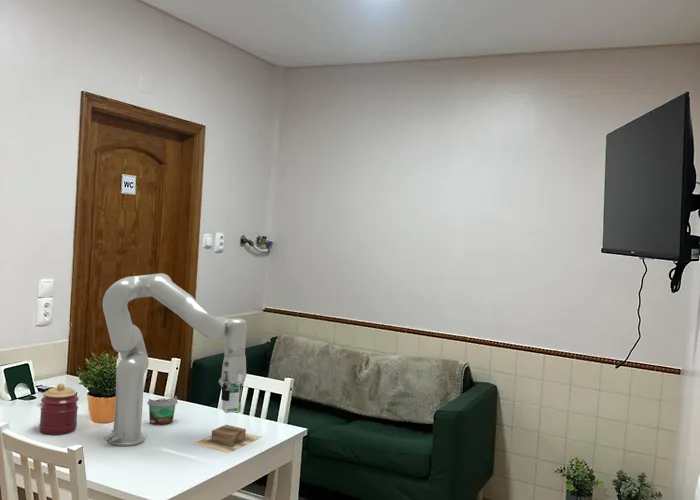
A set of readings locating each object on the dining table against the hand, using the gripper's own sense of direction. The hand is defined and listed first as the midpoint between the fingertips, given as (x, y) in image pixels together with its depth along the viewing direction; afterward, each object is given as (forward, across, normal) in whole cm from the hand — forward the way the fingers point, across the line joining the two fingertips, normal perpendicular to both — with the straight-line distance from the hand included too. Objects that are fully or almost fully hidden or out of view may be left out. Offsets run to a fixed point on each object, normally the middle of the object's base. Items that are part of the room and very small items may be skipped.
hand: (231, 397), depth 242 cm
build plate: (+17, 0, 0) cm, 17 cm away
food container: (+18, +4, +34) cm, 39 cm away
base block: (+16, 0, 0) cm, 16 cm away
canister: (+17, -26, +59) cm, 67 cm away
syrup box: (+5, 0, 0) cm, 5 cm away
